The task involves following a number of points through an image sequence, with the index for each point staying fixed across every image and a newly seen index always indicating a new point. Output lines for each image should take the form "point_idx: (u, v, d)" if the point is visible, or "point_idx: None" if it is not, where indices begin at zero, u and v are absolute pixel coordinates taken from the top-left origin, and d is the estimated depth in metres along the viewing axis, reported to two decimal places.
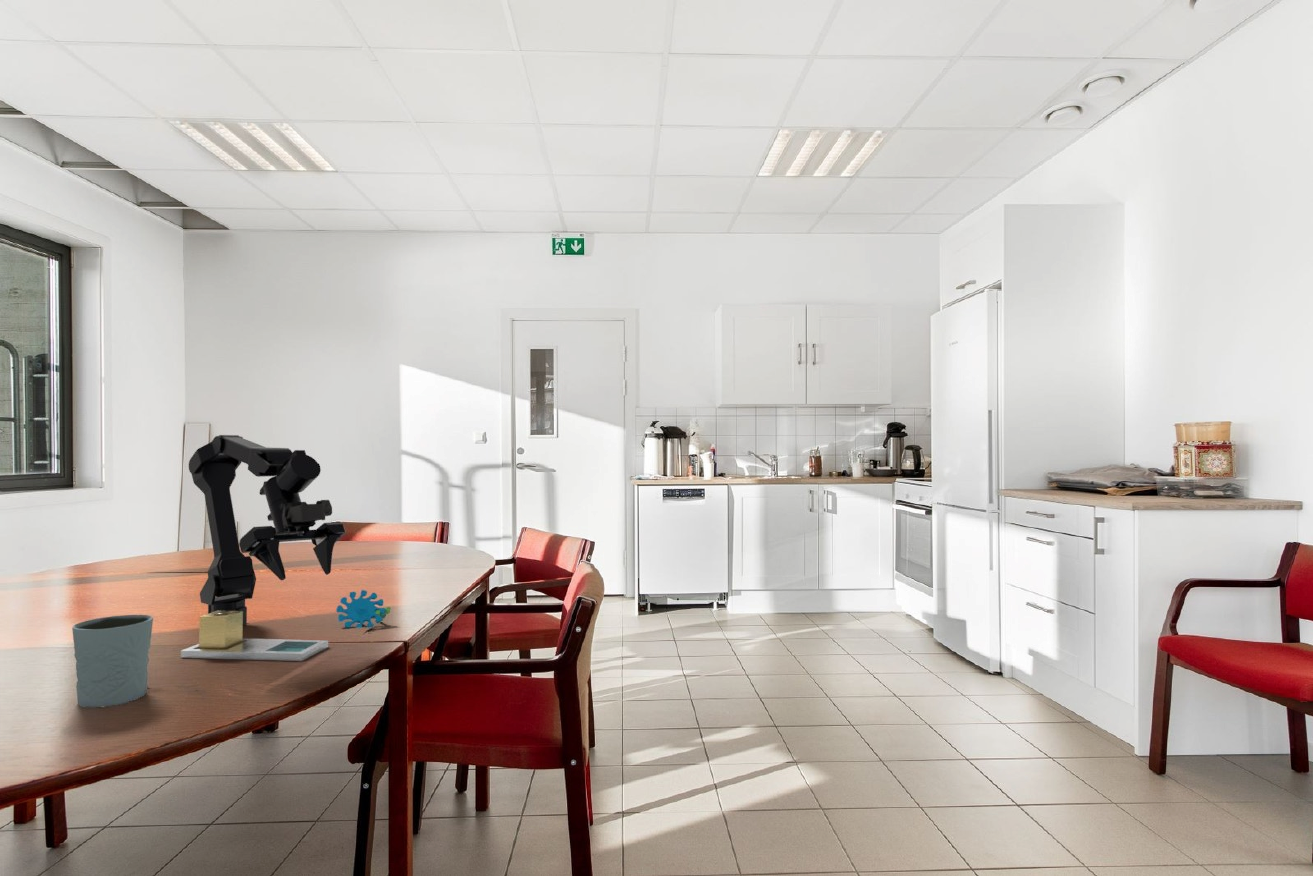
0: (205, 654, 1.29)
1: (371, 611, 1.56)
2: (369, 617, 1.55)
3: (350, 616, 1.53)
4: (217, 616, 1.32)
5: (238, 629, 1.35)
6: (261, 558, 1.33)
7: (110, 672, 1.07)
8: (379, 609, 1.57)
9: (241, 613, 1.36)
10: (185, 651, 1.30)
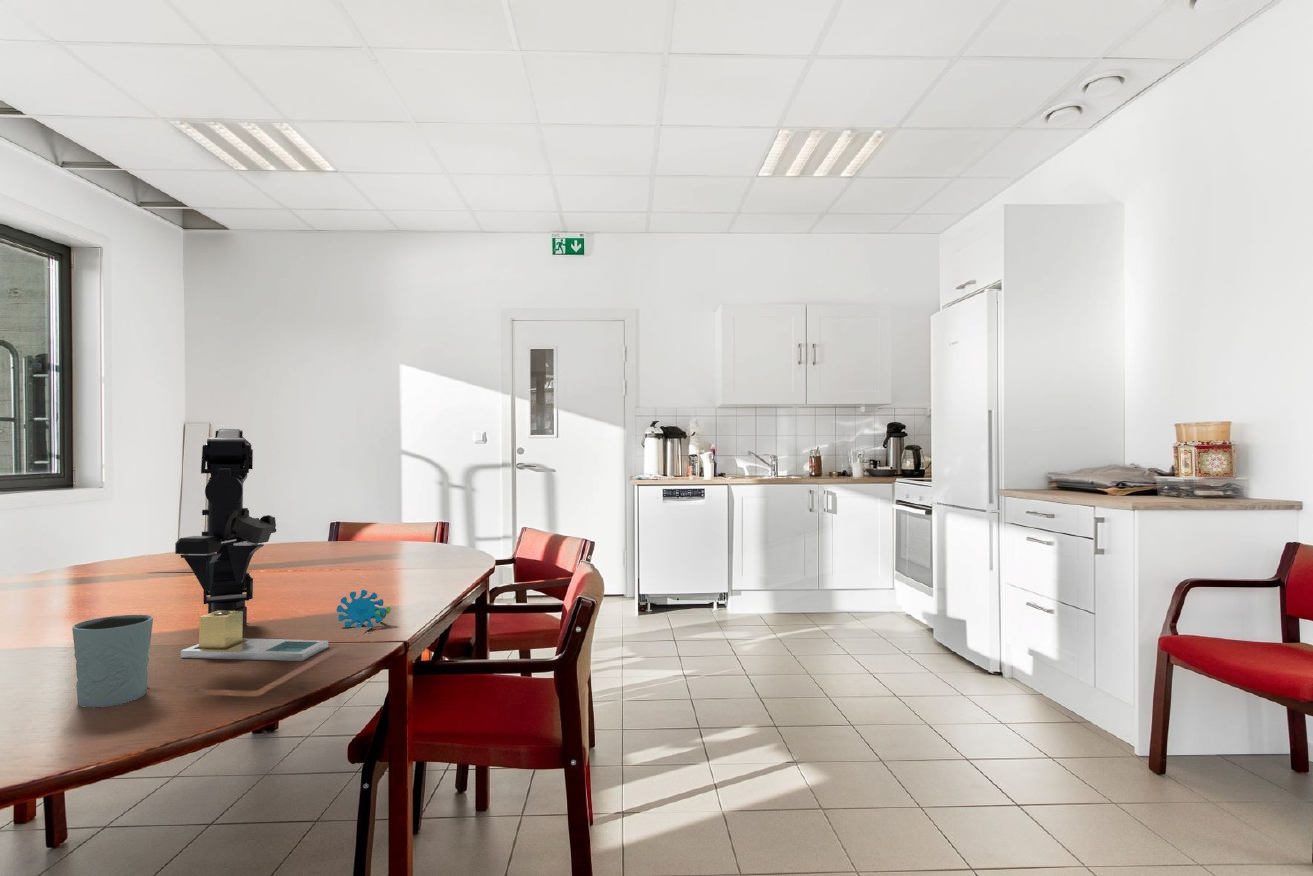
0: (205, 654, 1.29)
1: (371, 611, 1.56)
2: (369, 617, 1.55)
3: (350, 616, 1.53)
4: (217, 616, 1.32)
5: (238, 629, 1.35)
6: (191, 562, 1.28)
7: (110, 672, 1.07)
8: (379, 609, 1.57)
9: (241, 613, 1.36)
10: (185, 651, 1.30)
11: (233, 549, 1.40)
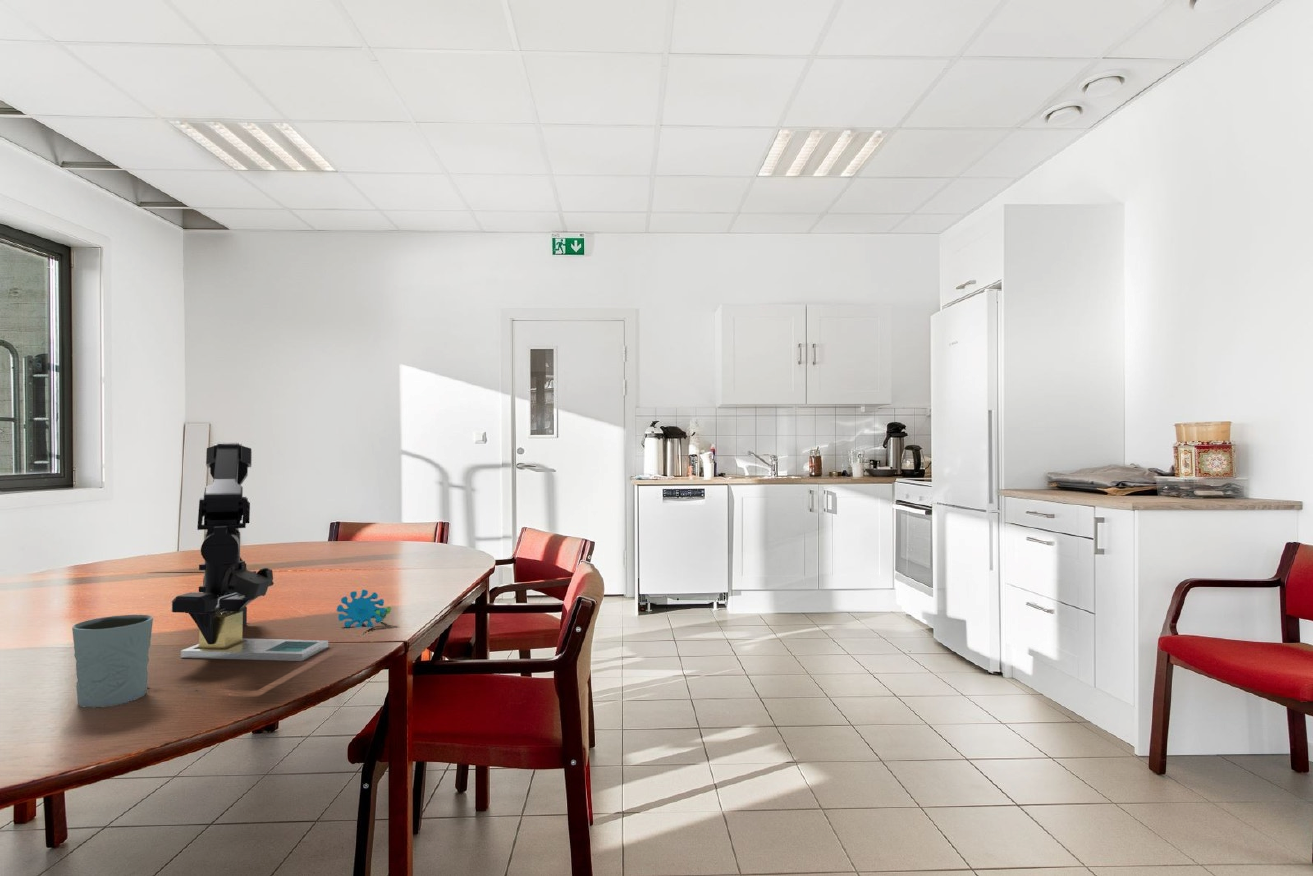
0: (205, 654, 1.29)
1: (371, 611, 1.56)
2: (369, 616, 1.55)
3: (350, 616, 1.54)
4: None
5: (238, 629, 1.35)
6: (195, 617, 1.30)
7: (110, 672, 1.07)
8: (379, 609, 1.57)
9: (241, 613, 1.36)
10: (185, 651, 1.30)
11: (224, 603, 1.37)
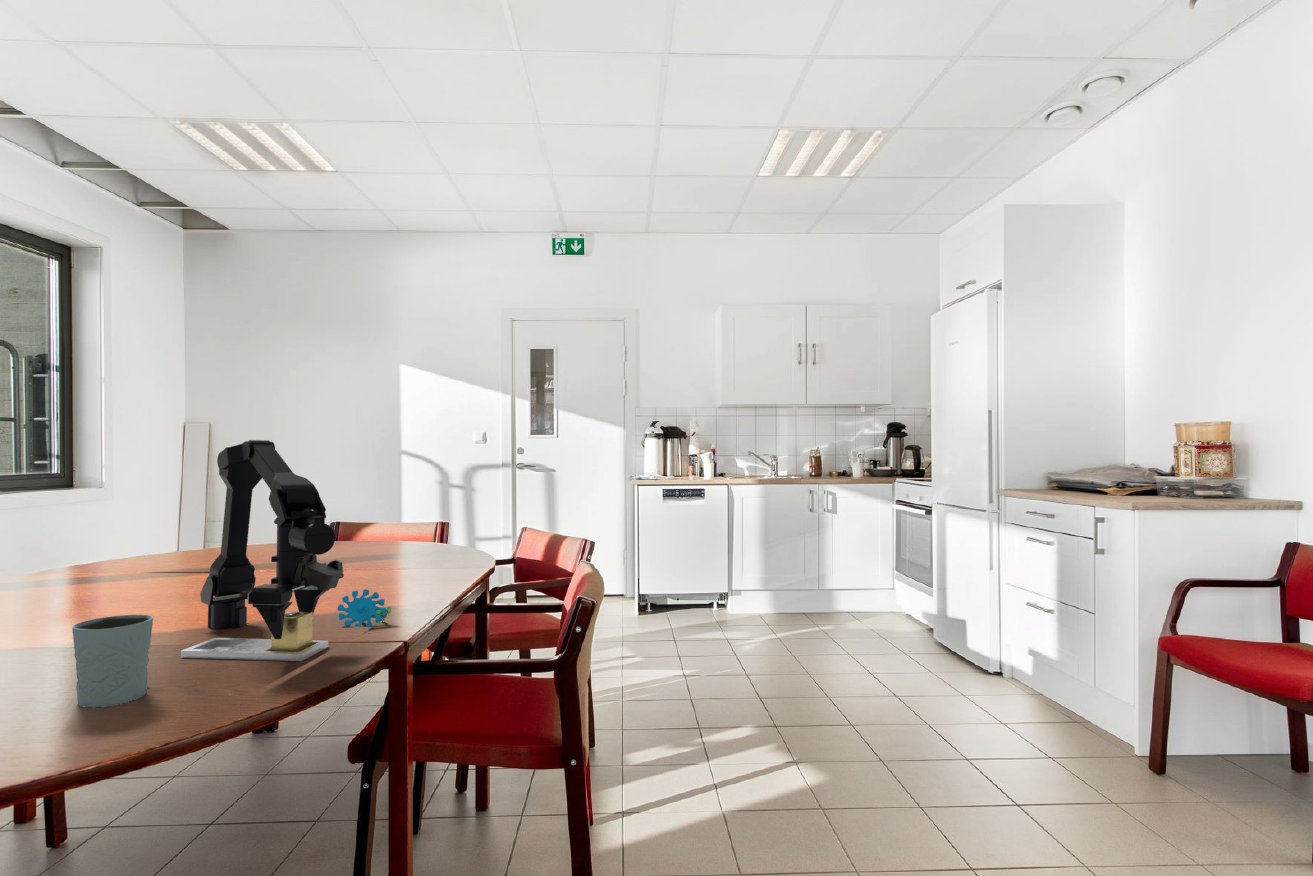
0: (205, 654, 1.29)
1: (371, 610, 1.56)
2: (369, 616, 1.55)
3: (350, 615, 1.54)
4: (289, 617, 1.31)
5: (308, 630, 1.34)
6: (262, 611, 1.27)
7: (110, 672, 1.07)
8: (380, 609, 1.57)
9: (311, 614, 1.35)
10: (185, 651, 1.30)
11: (299, 593, 1.38)
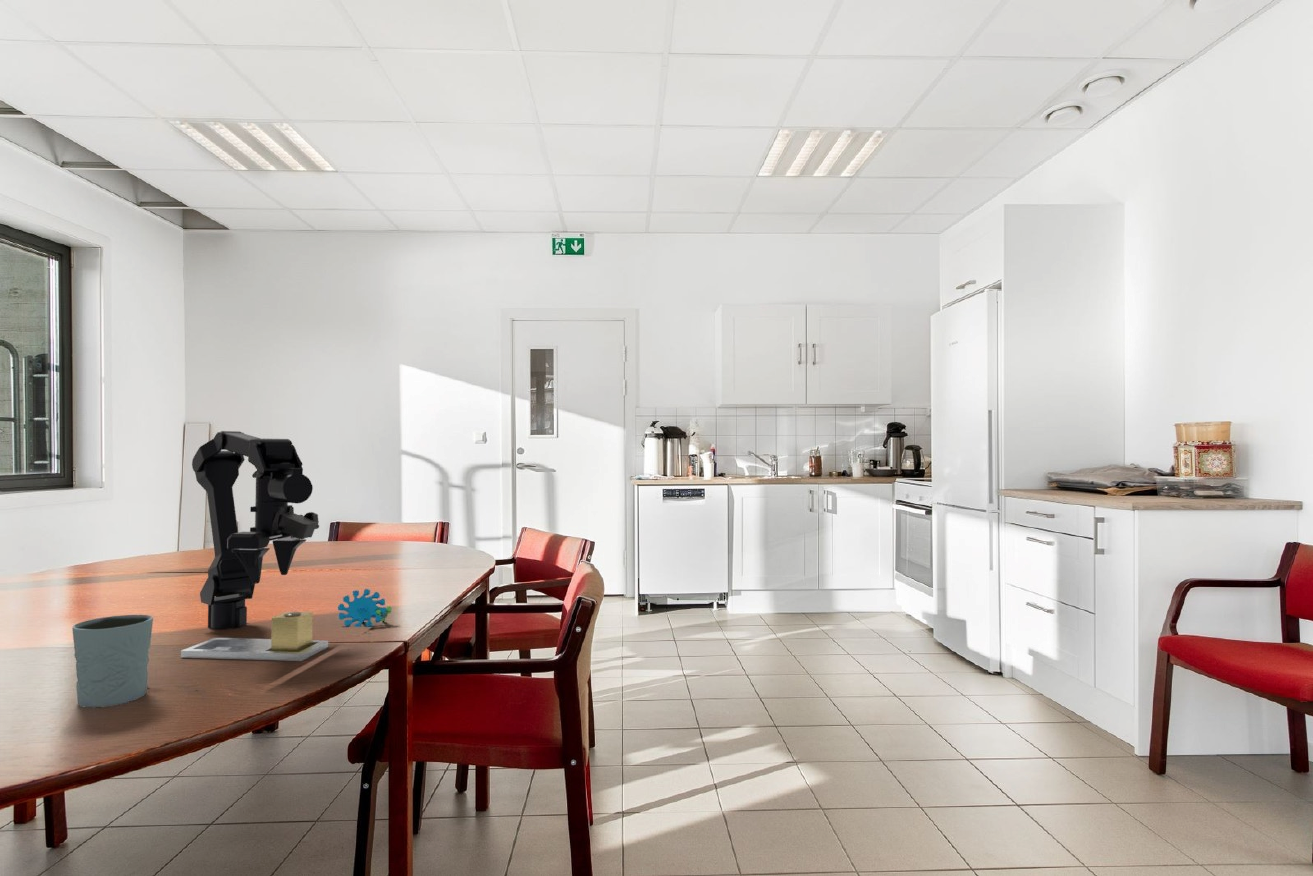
0: (205, 654, 1.29)
1: (372, 610, 1.57)
2: (369, 616, 1.56)
3: (350, 615, 1.55)
4: (289, 617, 1.31)
5: (308, 630, 1.34)
6: (241, 556, 1.36)
7: (110, 672, 1.07)
8: (380, 608, 1.58)
9: (311, 614, 1.35)
10: (185, 651, 1.30)
11: (278, 544, 1.47)
